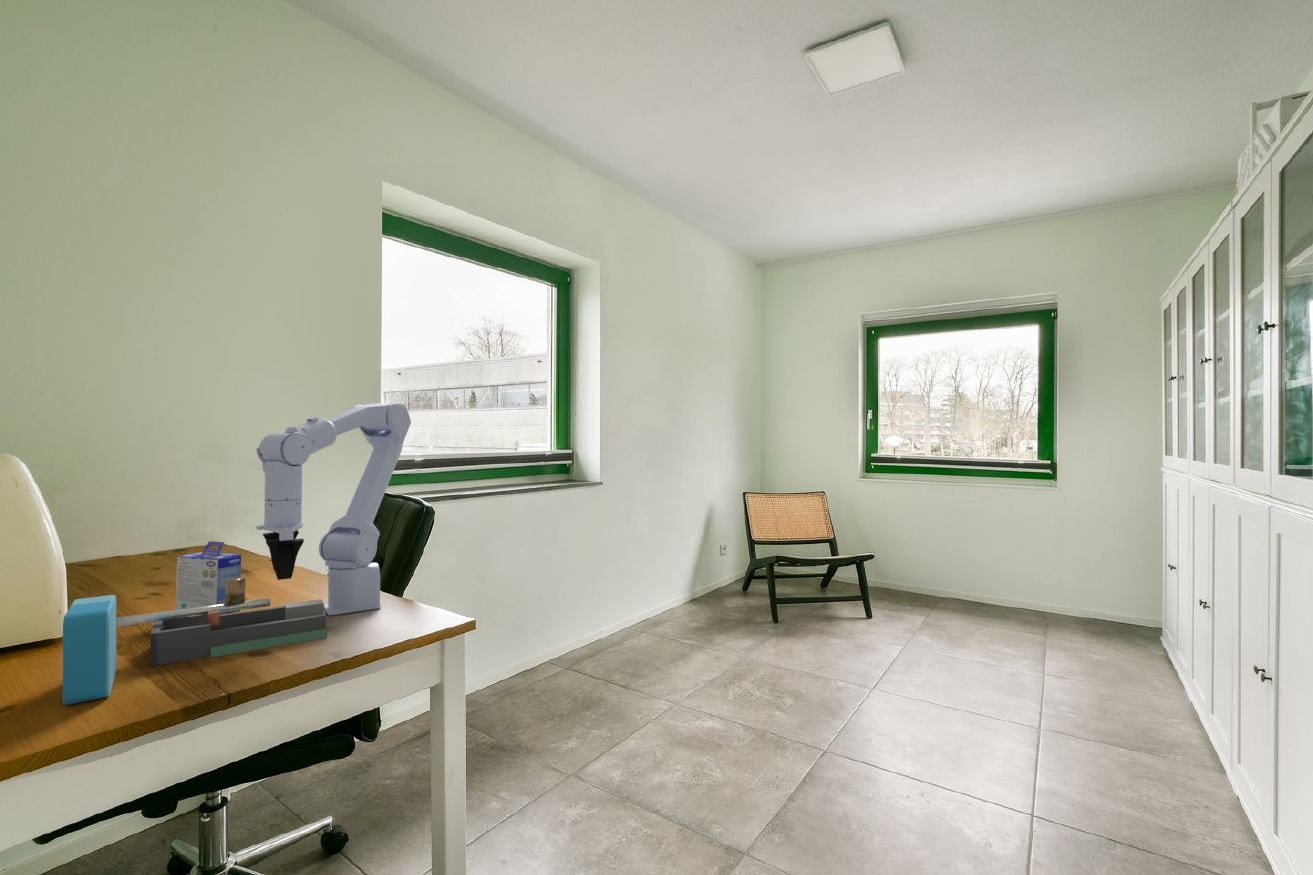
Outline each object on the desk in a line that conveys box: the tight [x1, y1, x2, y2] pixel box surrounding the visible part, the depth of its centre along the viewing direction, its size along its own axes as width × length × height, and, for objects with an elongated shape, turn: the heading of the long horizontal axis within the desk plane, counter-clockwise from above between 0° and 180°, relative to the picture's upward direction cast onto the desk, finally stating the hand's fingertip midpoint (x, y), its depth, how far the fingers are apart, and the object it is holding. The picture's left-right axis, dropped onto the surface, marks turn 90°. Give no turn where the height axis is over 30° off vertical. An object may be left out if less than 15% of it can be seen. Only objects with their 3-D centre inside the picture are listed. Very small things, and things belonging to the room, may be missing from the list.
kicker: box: [116, 576, 271, 631], centre depth 101 cm, size 22×5×9 cm, turn 126°
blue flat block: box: [62, 594, 117, 706], centre depth 85 cm, size 12×4×12 cm, turn 38°
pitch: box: [150, 598, 328, 667], centre depth 105 cm, size 24×12×5 cm, turn 126°
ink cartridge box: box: [175, 540, 242, 615], centre depth 117 cm, size 10×6×14 cm, turn 79°
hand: (282, 574), depth 110 cm, fingers open, 7 cm apart
